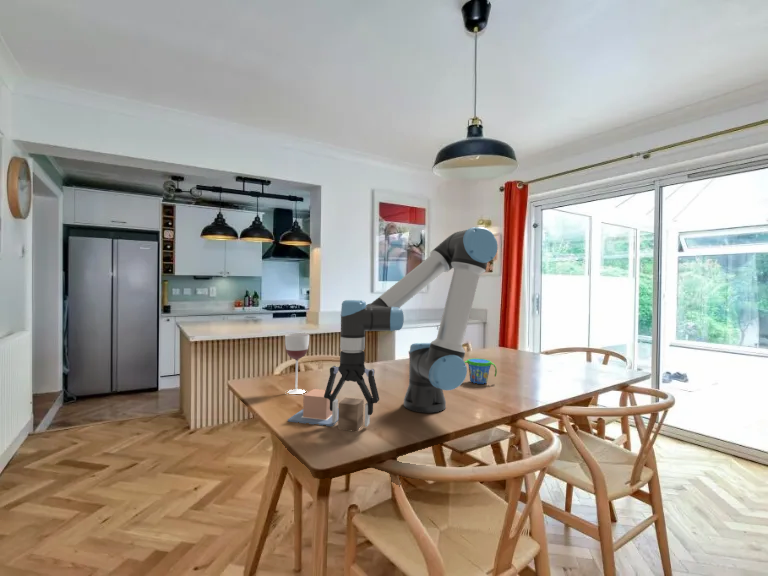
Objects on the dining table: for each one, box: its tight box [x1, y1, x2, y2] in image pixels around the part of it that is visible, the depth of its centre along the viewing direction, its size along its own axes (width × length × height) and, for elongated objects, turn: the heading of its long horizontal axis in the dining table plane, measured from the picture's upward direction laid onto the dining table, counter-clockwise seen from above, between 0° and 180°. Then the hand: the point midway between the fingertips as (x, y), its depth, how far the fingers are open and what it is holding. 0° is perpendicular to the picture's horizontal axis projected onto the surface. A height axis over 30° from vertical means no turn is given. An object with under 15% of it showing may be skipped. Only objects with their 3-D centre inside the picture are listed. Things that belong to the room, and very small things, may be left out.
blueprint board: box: [287, 407, 339, 427], centre depth 127 cm, size 15×15×1 cm
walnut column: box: [337, 397, 365, 432], centre depth 118 cm, size 6×6×8 cm
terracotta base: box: [302, 388, 337, 419], centre depth 127 cm, size 8×8×7 cm
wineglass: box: [284, 332, 310, 395], centre depth 154 cm, size 9×10×23 cm
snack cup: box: [464, 357, 498, 385], centre depth 176 cm, size 16×10×10 cm
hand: (350, 423), depth 118 cm, fingers open, 10 cm apart
